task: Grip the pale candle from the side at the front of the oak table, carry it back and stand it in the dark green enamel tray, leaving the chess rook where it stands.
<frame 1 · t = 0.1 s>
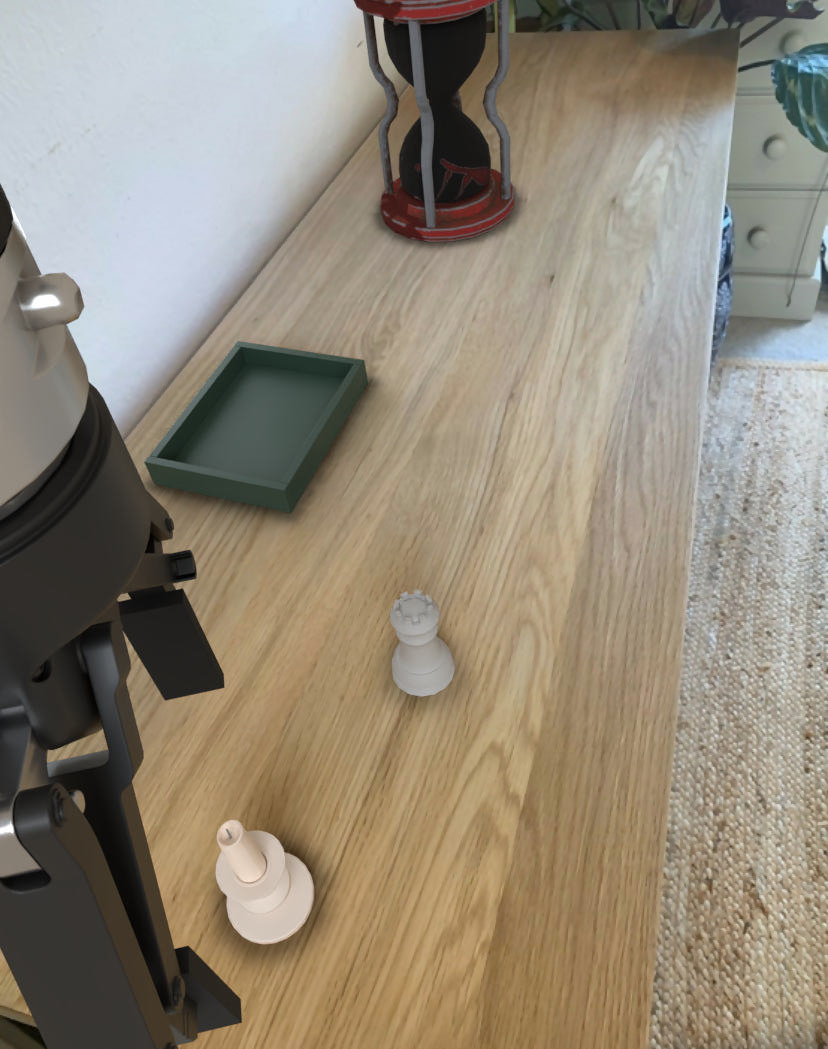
hand: (198, 832, 34), 19 cm above the worktop, tool pointing down, fingers open, 13 cm apart
tray: (265, 431, 79), on the worktop
candle: (272, 899, 51), on the worktop
rook chess piece: (424, 673, 61), on the worktop
hourglass: (447, 209, 103), on the worktop
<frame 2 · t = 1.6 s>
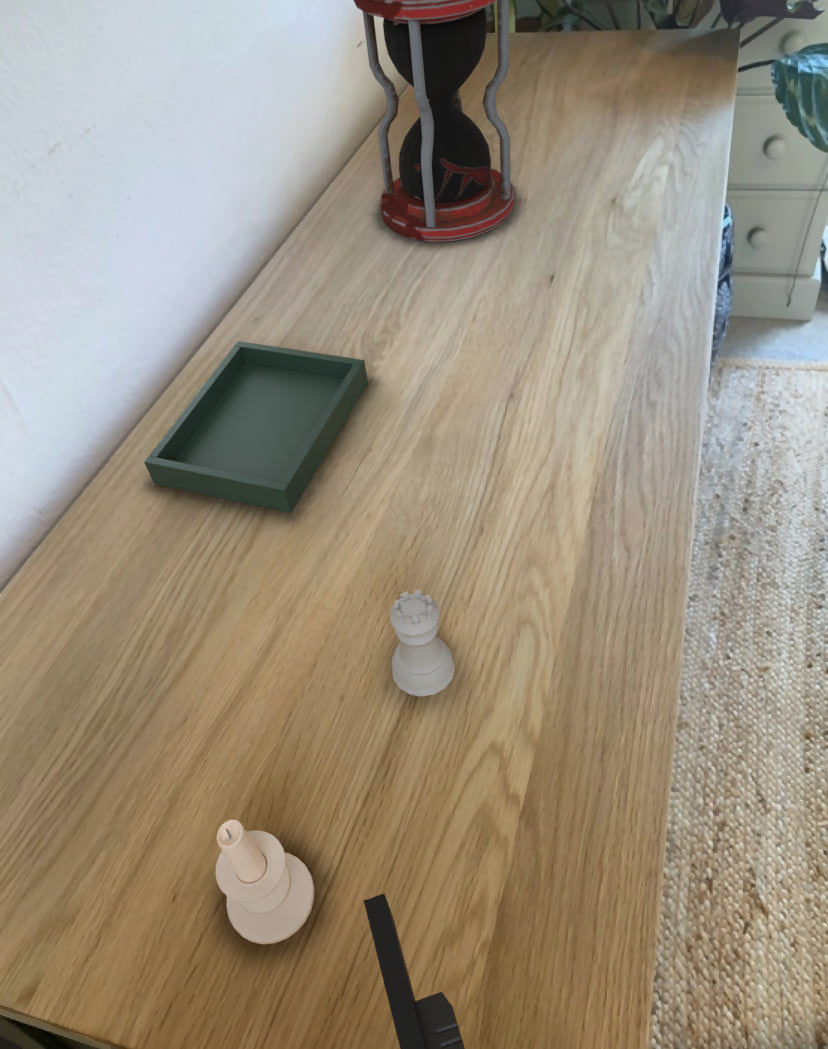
hand: (191, 972, 30), 20 cm above the worktop, tool horizontal, fingers open, 13 cm apart
nothing on the worktop moved.
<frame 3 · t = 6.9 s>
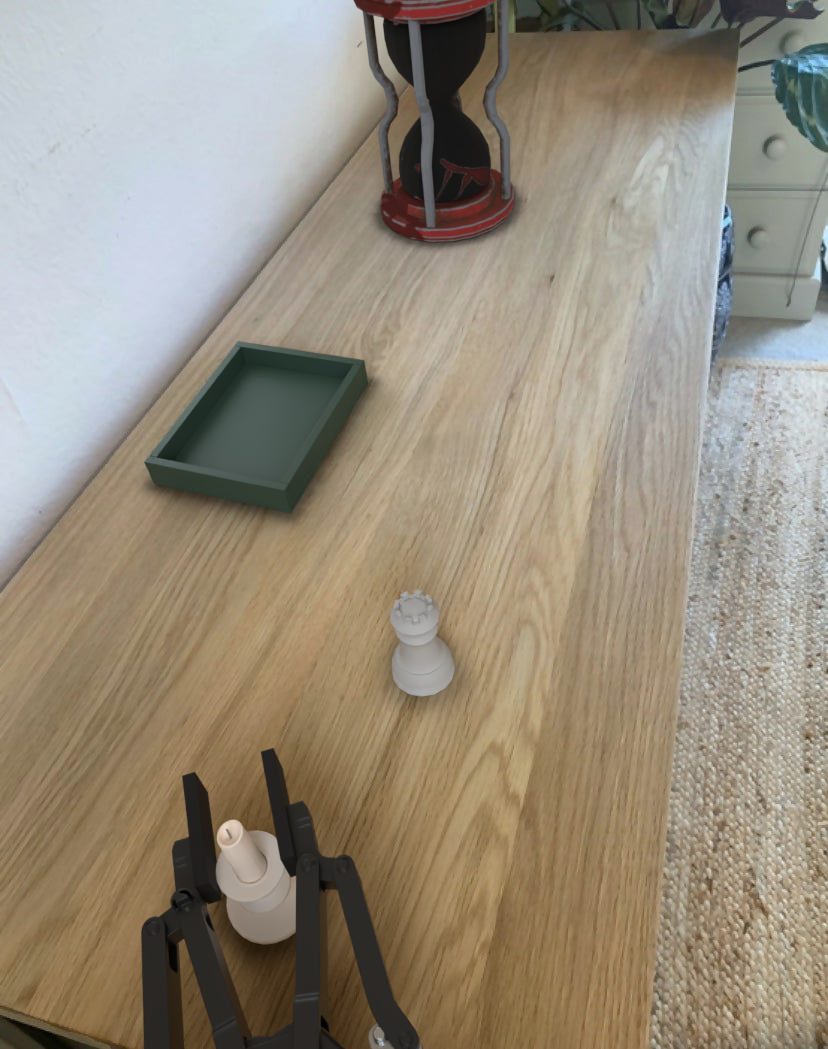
hand: (233, 772, 50), 6 cm above the worktop, tool horizontal, fingers closed on candle, 4 cm apart
candle: (272, 899, 51), on the worktop, touching gripper
everything else where it was.
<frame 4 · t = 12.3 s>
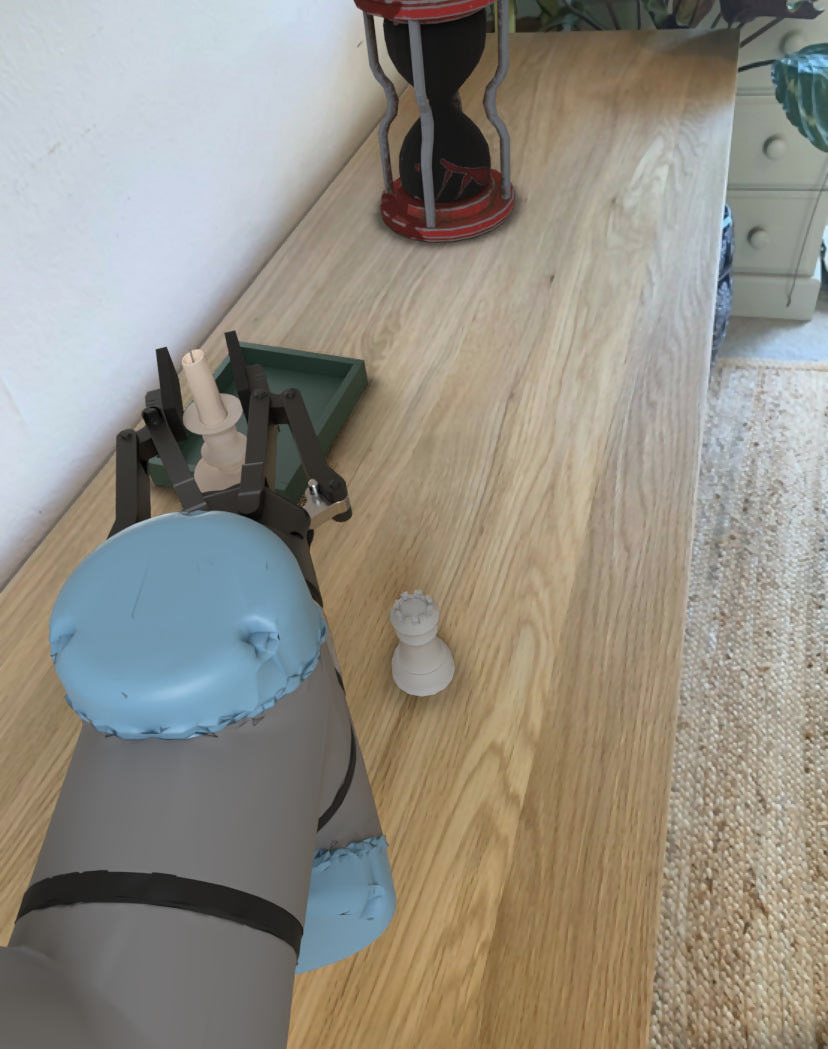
hand: (201, 356, 57), 18 cm above the worktop, tool horizontal, fingers closed on candle, 4 cm apart
candle: (234, 474, 58), point 12 cm above the worktop, touching gripper
everything else where it was.
when the fingers open (7 cm above the worktop, at t = 17.9 s): candle stays where it is, resting on tray.
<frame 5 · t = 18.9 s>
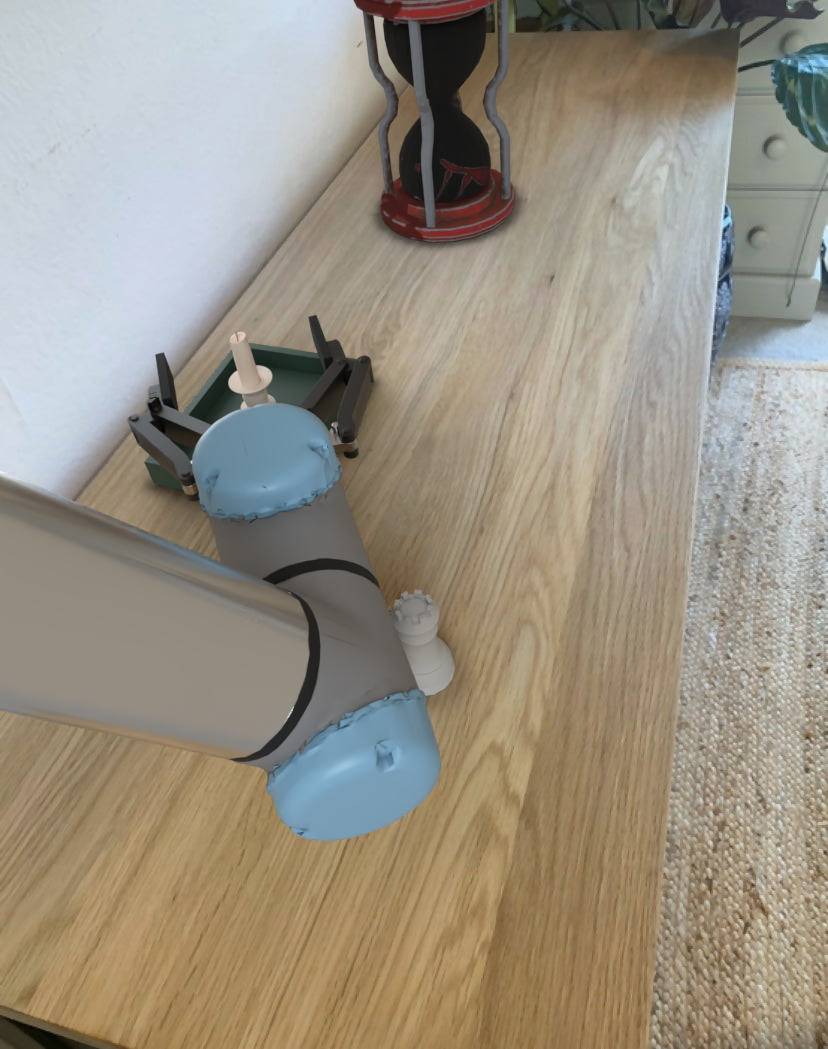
hand: (240, 346, 76), 7 cm above the worktop, tool horizontal, fingers open, 13 cm apart
candle: (264, 426, 79), point 1 cm above the worktop, touching tray
everything else where it was.
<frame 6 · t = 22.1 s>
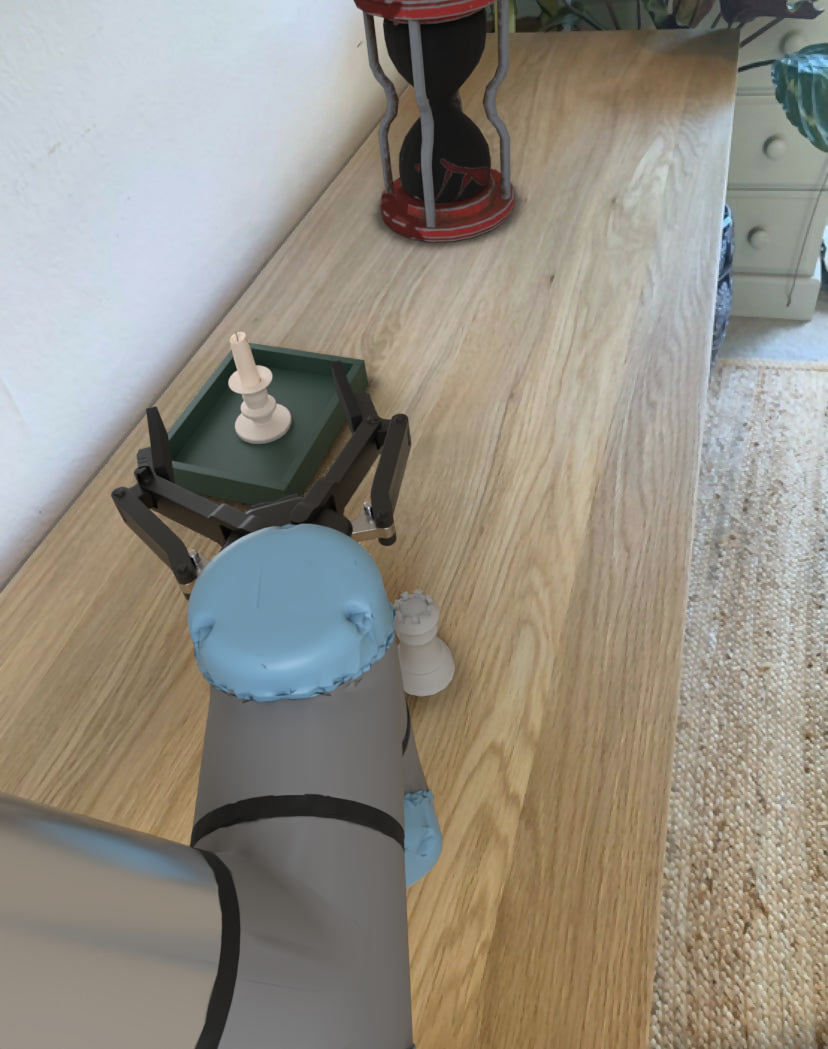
hand: (248, 398, 63), 12 cm above the worktop, tool horizontal, fingers open, 13 cm apart
nothing on the worktop moved.
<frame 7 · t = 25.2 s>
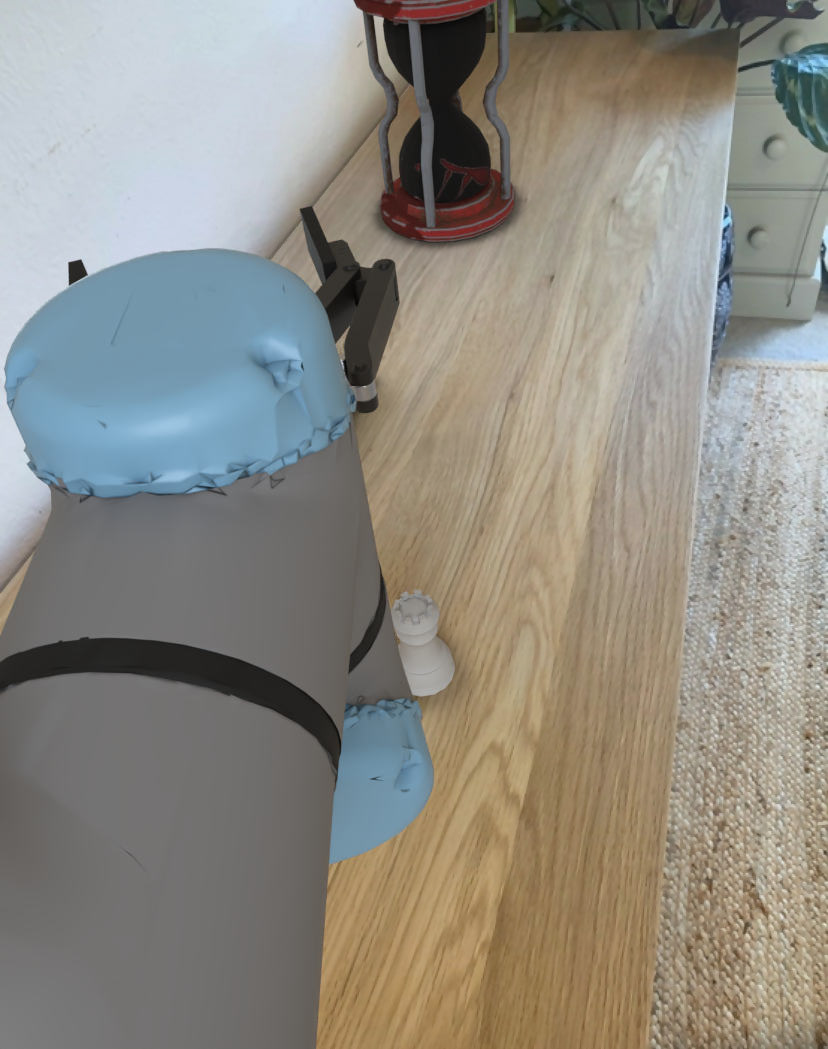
hand: (198, 253, 51), 26 cm above the worktop, tool horizontal, fingers open, 13 cm apart
nothing on the worktop moved.
at the end: candle inside the target area in the tray (0.0 cm from its centre), point 0.6 cm above the tray's base; candle tilted 0°; rook chess piece moved 0.2 cm from its start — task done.
